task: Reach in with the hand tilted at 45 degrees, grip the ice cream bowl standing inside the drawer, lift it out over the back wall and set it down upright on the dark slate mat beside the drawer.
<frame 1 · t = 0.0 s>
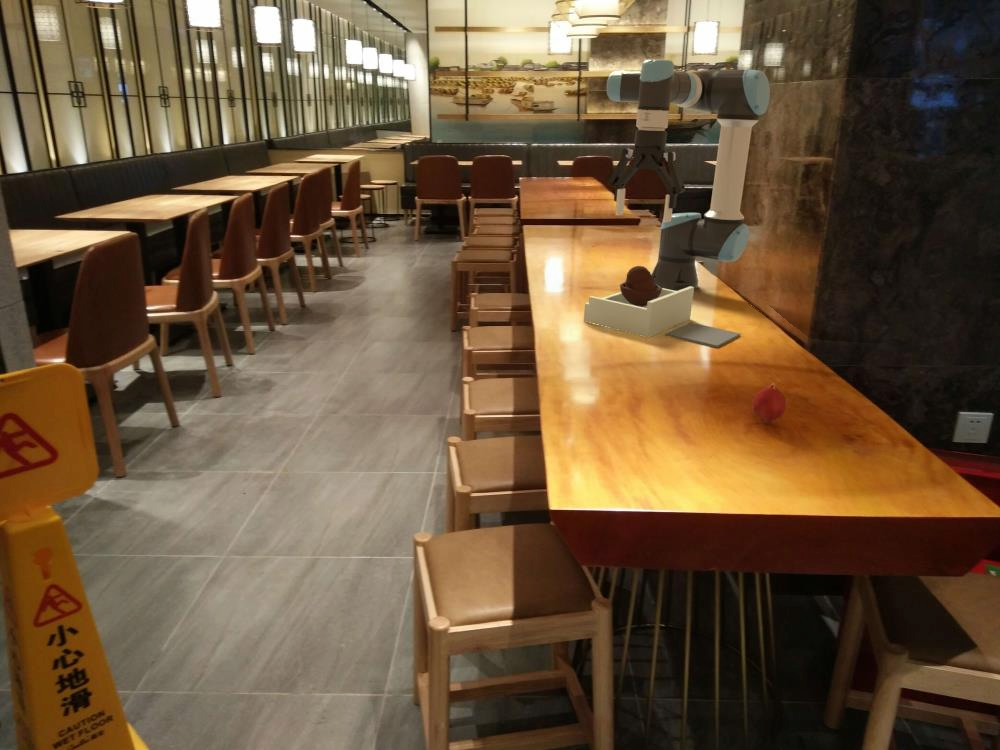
hand: (642, 218, 186), 28 cm above the table, tool pointing down, fingers open, 13 cm apart
ice cream bowl: (637, 321, 201), resting in drawer
slate mat: (702, 335, 189), on the table
drawer: (637, 320, 201), on the table
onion: (765, 423, 139), on the table
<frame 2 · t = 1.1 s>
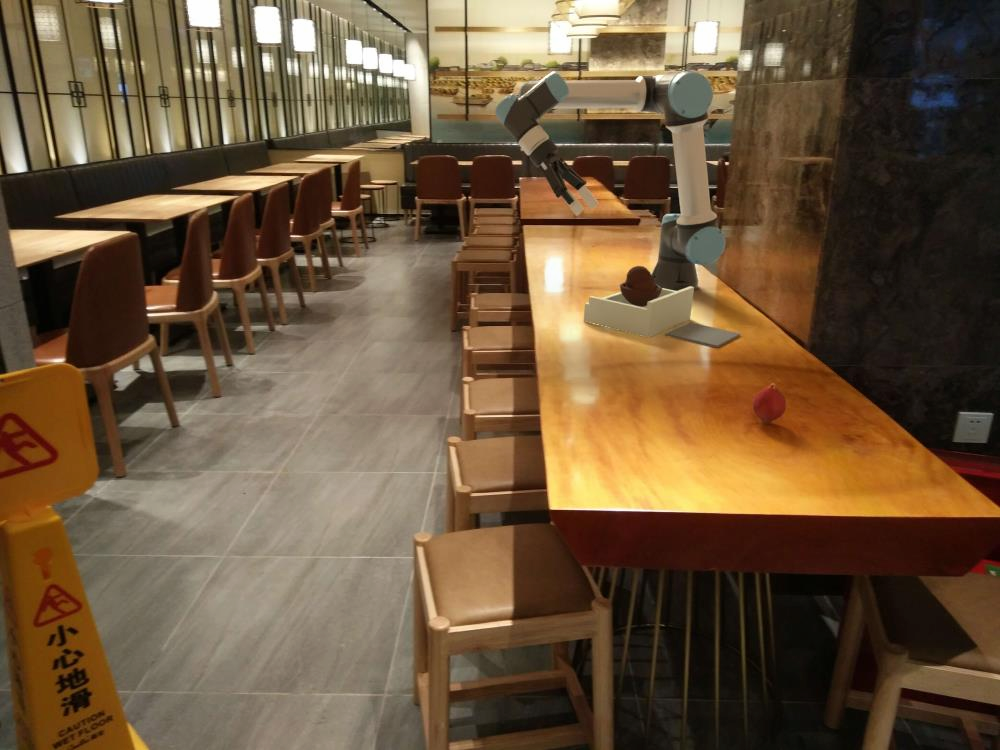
hand: (588, 209, 198), 28 cm above the table, tool tilted 45°, fingers open, 13 cm apart
nothing on the table moved.
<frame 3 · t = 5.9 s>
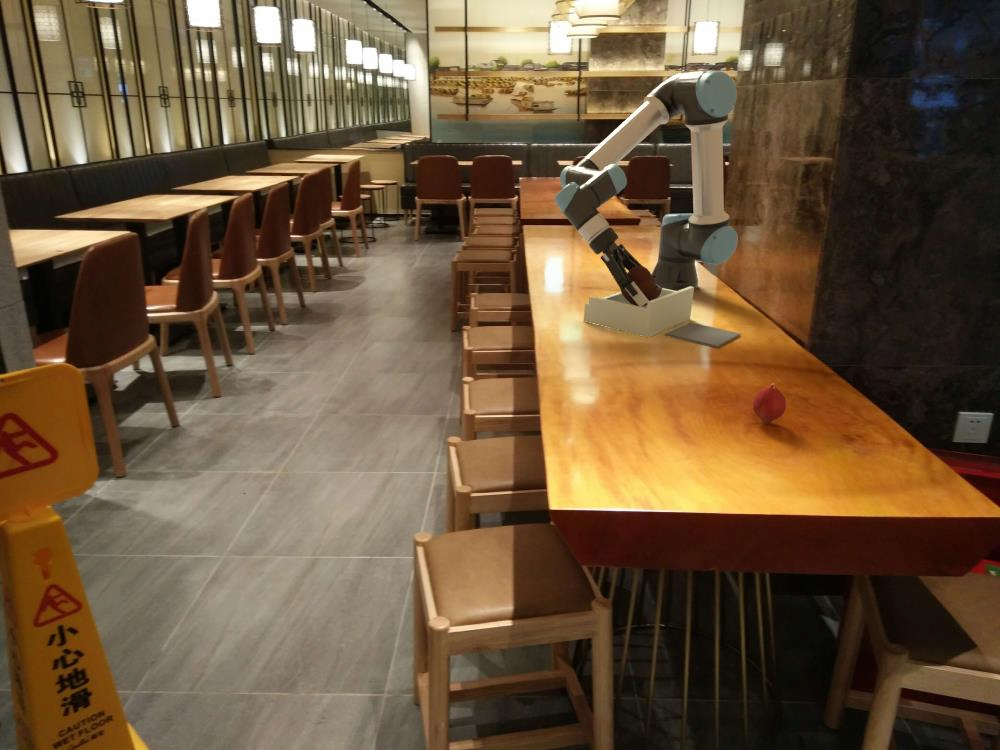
hand: (650, 299, 197), 6 cm above the table, tool tilted 45°, fingers closed on ice cream bowl, 11 cm apart
ice cream bowl: (637, 321, 201), resting in drawer, touching gripper
everything else where it was.
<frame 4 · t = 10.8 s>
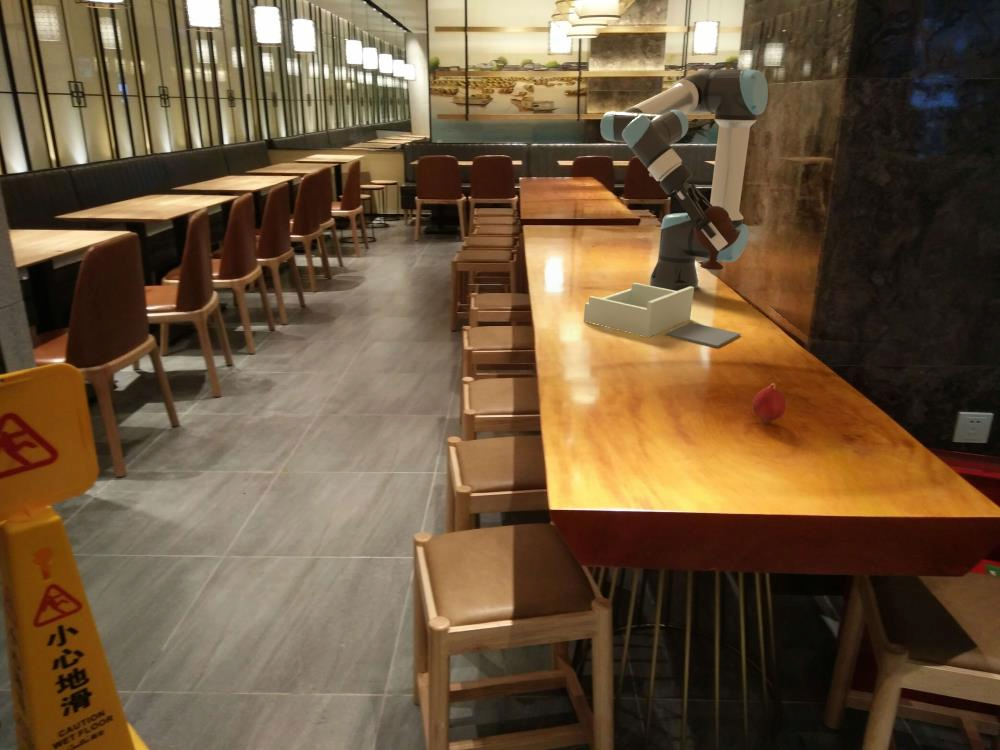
hand: (727, 243, 180), 24 cm above the table, tool tilted 45°, fingers closed on ice cream bowl, 11 cm apart
ice cream bowl: (711, 268, 183), point 17 cm above the table, touching gripper
everything else where it was.
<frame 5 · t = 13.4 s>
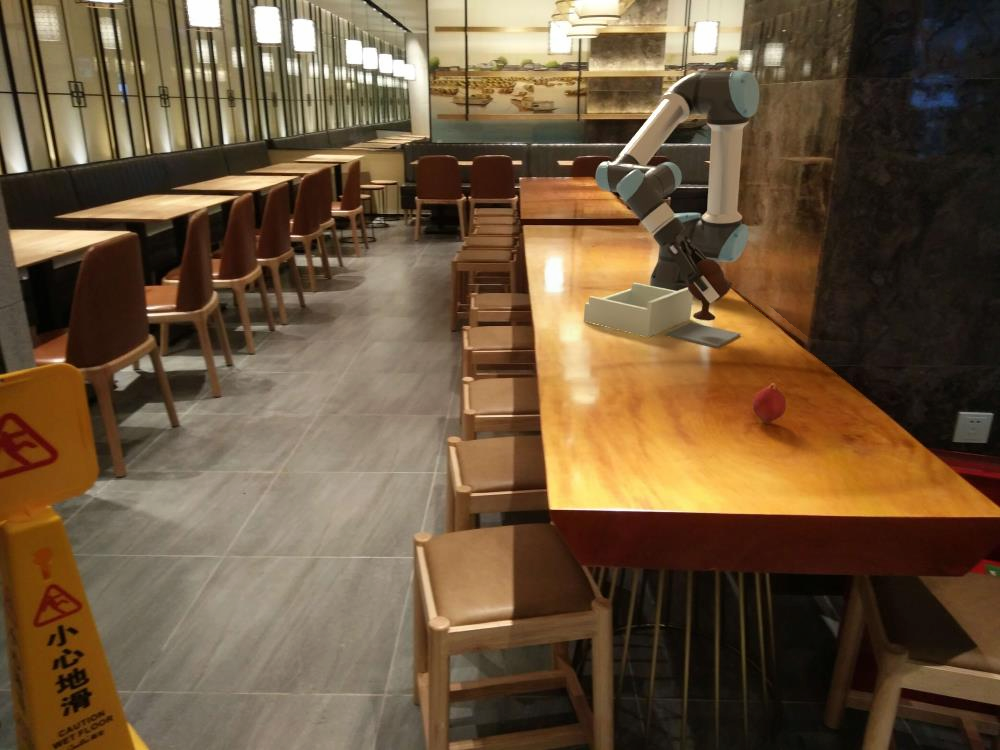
hand: (718, 295, 184), 11 cm above the table, tool tilted 45°, fingers closed on ice cream bowl, 11 cm apart
ice cream bowl: (703, 318, 187), point 5 cm above the table, touching gripper
everything else where it was.
when the fingers open (8 cm above the table, at t = 15.4 s): ice cream bowl drops 1 cm, resting on slate mat.
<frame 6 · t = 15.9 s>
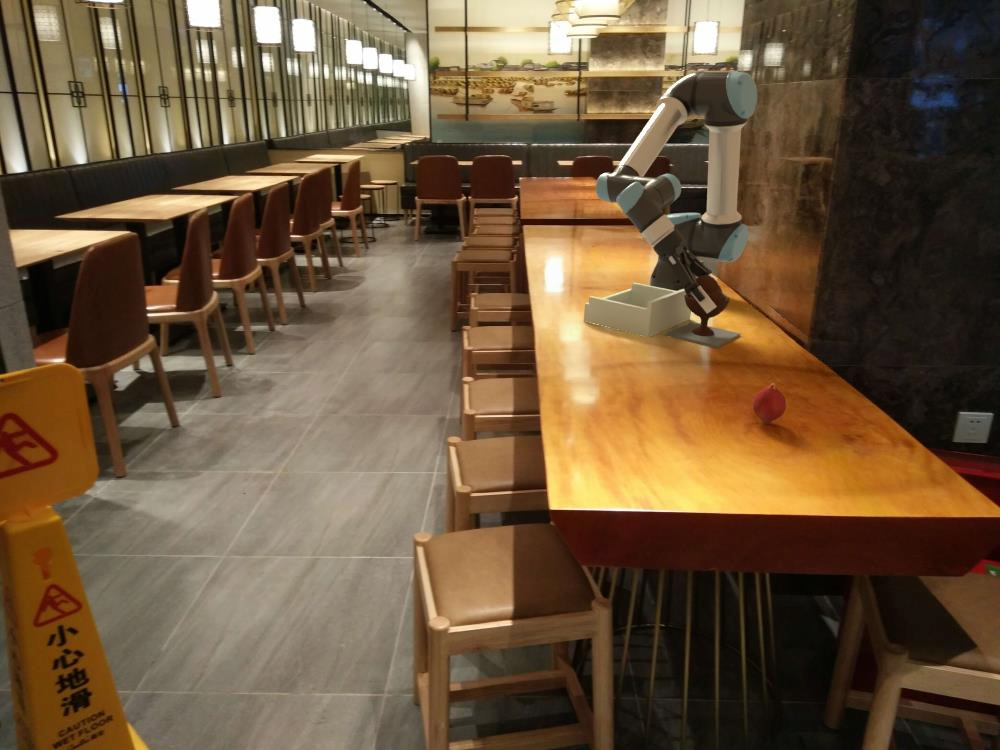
hand: (716, 303, 185), 9 cm above the table, tool tilted 45°, fingers open, 13 cm apart
ice cream bowl: (702, 333, 190), resting on slate mat
everything else where it was.
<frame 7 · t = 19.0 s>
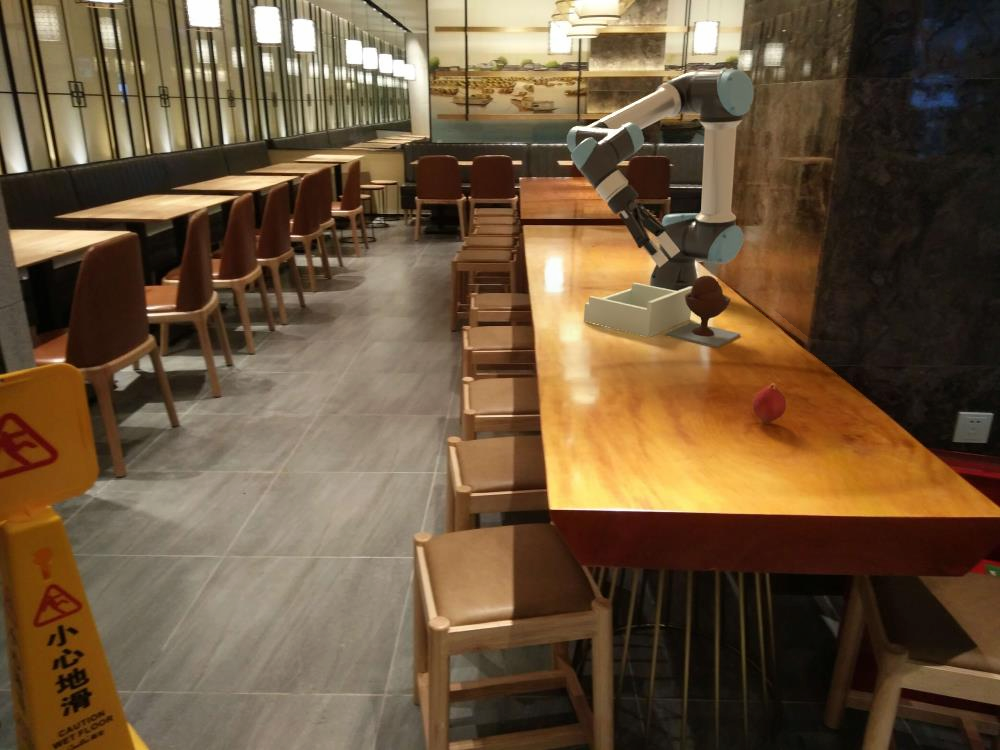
hand: (670, 259, 187), 19 cm above the table, tool tilted 45°, fingers open, 13 cm apart
nothing on the table moved.
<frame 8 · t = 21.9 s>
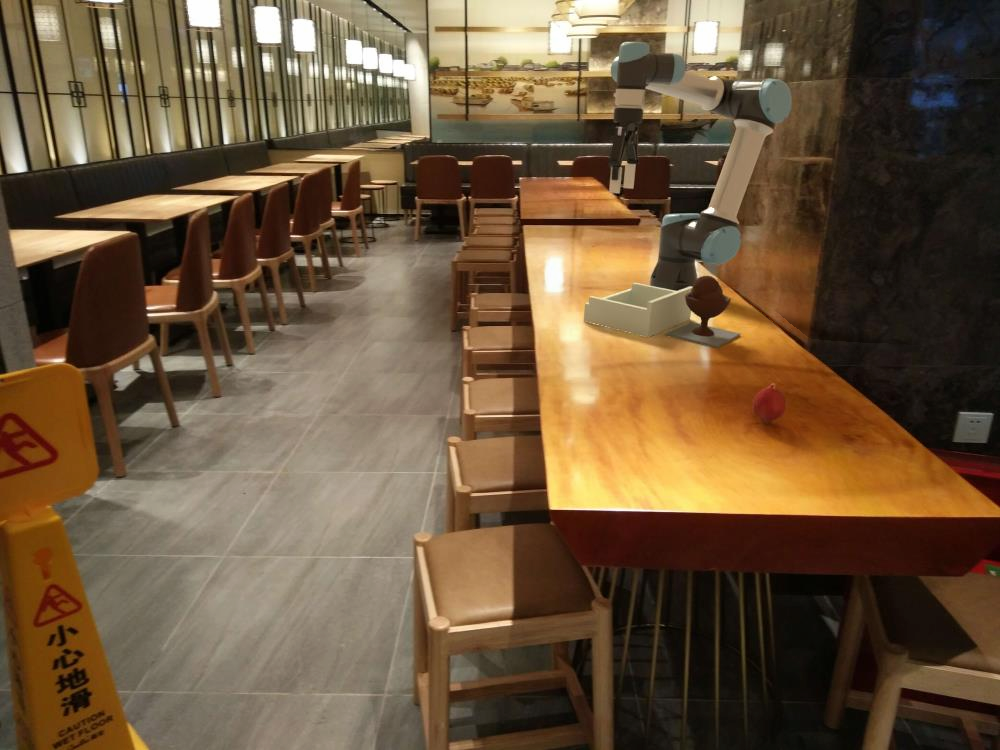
hand: (621, 190, 201), 33 cm above the table, tool pointing down, fingers open, 13 cm apart
nothing on the table moved.
at the end: ice cream bowl inside the target area on the slate mat (0.2 cm from its centre), point 0.4 cm above the slate mat's base; ice cream bowl tilted 0°; the gripper is holding nothing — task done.
